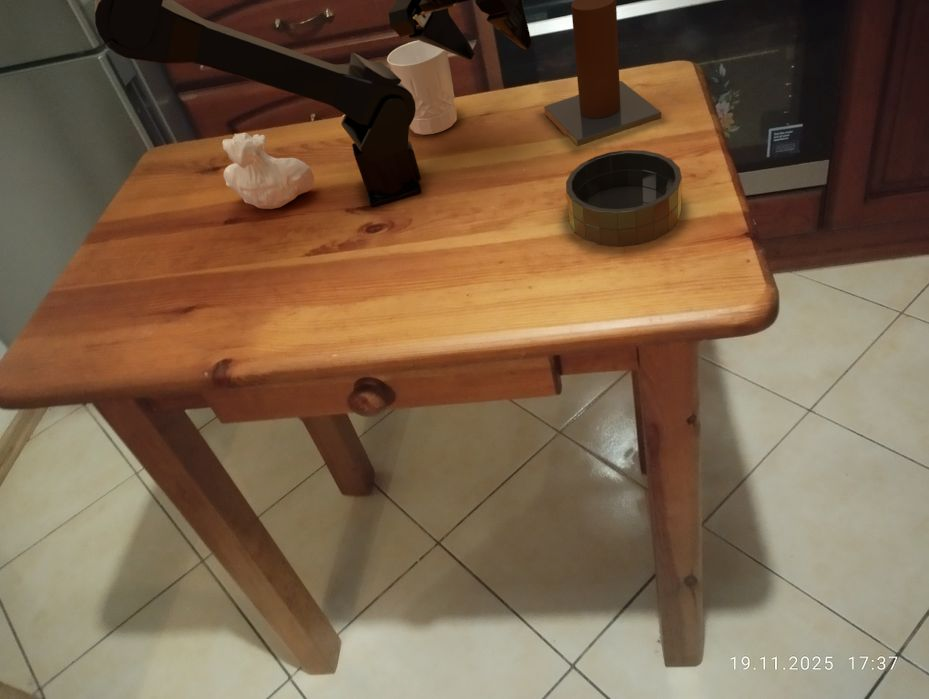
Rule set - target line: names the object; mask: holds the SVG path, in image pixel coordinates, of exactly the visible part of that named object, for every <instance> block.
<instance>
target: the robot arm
mask: <svg viewBox="0 0 929 699" xmlns="http://www.w3.org/2000/svg"><path fill="white" fill-rule="evenodd" d="M468 1H469V0H395V1H394V3H393V4H392V6H391V8H390V9H389V12H388V21H389V26H390V28H392V30H393V31H394V32H395V33H396V34H397V35H398V36H399V37H400V38H402V37H403V38H404V37H407V36H408V38H409V39H410V40H413V41H418V40H419V41H422V42H424V43H427V44H430V45H433V46H436V47H438V48H441V49H443V50H446V51H447V53H451V54H453V55H456V56H457V57H460V58H463V59H464V60H468V61H471V60H472V59H473V58H474V55H475V51H474V49H473V47H472V46H471V43H470V42H469V40H468V39H467V37H466V36H465V35H464V33H463V32H462V31H461V29H460V28H459V26H458V24H456V22H455V21H454V19H453V18H452V16H451V15H450V11H449V9H450V8H453V7H455V6H457V4H460V3H465V2H468ZM474 3H475V5H476V6H477V7H478V9H479V10H480V11H481V12H482V13H484V14H487V17H486V21H487V22H488V23H489V24H490V25H491V26H493V27H494V28H495V29H497V30H498V31H499V32H500V33H501V34H503V35H504V36H506V37H507V38H508V39H510V41H512V42H513V43H514V44H515V45H517V46H519V47H520V48H522V49H523V50H525V51H527V50H529V49H530V47H531V45H532V37H531V33H530V29H529V25H528V21H527V17H526V13H525V8H524V7H525V6H524V0H474ZM94 24H95V28H96V30H97V32H98V34H99V37H100V38H101V39H102V41H103V42H104V44H105V45H106V46H107V47H108V49H109V50H111V51H112V52H113V53H115V54H117V55H118V56H121V57H123V58H125V59H130V60H137V61H144V62H152V63H156V64H157V63H158V64H166V65H169V64H170V65H171V64H177V65H179V64H195V65H200V66H201V65H202V66H205V67H207V68H210V69H214V70H217V71H220V72H222V73H223V72H224V73H227V74H230V75H233V76H236V77H240V78H241V79H245V80H249V81H251V82H255V83H258V84H262V85H265V86H268V87H271V88H275V89H278V90H279V91H280V90H281V91H283V92H287V93H289V94H294V95H296V96H299V97H303V98H306V99H310V100H313V101H315V102H319V103H322V104H325V105H328V106H330V107H332V108H334V109H336V110H337V111H339V112H341V113H342V114H343V115H344V116H343V119H342V121H341V122H340V123H341V124H340V125H341V127H342V129H344V131H345V132H346V133H347V135H348V136H349V138H351V140H352V141H353V143H352V144H351V147H352V151H353V156H354V159H355V163H356V165H357V167H358V171H359V174H360V177H361V179H362V182H363V185H364V188H365V191H366V196H367V202H368V204H369V206H370V207H376V206H379V205H382V204H385V203H389V202H391V201H395V200H399V199H401V198H402V199H403V198H405V197H409V196H412V195H416V194H418V193H420V192H421V191H422V189H421V186H420V183H419V181H421V179H422V176H421V173H420V170H419V165H418V162H417V158H416V154H415V152H414V148H413V145H412V142H411V141H410V140H409V134H410V124H411V123H412V121H413V119H414V116H415V111H416V107H415V101H414V98H413V96H412V94H411V93H410V92H409V91H408V90H407V89H406V88H405V87H404V86H403V85H402V84H401V83H400V82H401V79H400V78H399V77H398V76H397V75H395V74H394V73H393V72H392V71H391V70H390V67H389V66H387V65H386V64H385V63H384V62H383V61H376V62H375V61H370V60H367V59H365V58H364V57H362V56H361V55H359V54H357V53H355V52H351V53H350V58H349V59H350V60H349V63H348V64H335V63H330V62H328V61H324V60H322V59H319V58H316V57H313V56H310V55H307V54H304V53H303V52H299V51H297V50H293V49H290V48H287V47H285V46H282V45H278V44H277V43H274V42H270V41H267V40H265V39H262V38H260V37H256V36H254V35H250V34H248V33H245V32H241V31H239V30H236V29H234V28H230V27H228V26H226V25H222V24H219V23H216V22H214V21H211V20H207V19H205V18H203V17H201V16H199V15H197V14H196V13H195V12H193V11H191V10H189V9H188V8H186V7H185V6H183V5H182V4H180V3H179V2H177V1H175V0H94Z"/></svg>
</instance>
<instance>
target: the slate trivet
mask: <svg viewBox="0 0 929 699" xmlns="http://www.w3.org/2000/svg"><path fill="white" fill-rule="evenodd" d="M619 83H620V109H619V111H618V112H616V113H615V114H613V115H611V116H608V117H605V118H597V119H594V118H587V117H585V116H583V115H582V114H581V113H580V103H579V94H577V95H574V96H571V97H568V98H564V99H562V100H558V101H556V102H555V101H554V102H553V103H550V104H546V105H545V106H543V109H544V115H545V116H546V117H547V118H548V119H549V120H550V121H551V123H553V124H554V125H555V127H556V128H557V129H558V130H559V131H560V132H561V133H562V134H563V135H566V136H567V138H569V139H570V140H571V141H572V142H573V143H574V144H575V145H576V146H577V147H579V146H582V145H585V144H588V143H591V142H594V141H597V140H600V139H603V138H606V137H609V136H612V135H615V134H617V133H621V132H623V131H626V130H630V129H633V128H636V127H639V126H642V125H644V124H647V123H650V122H653V121H656V120H660V119H662V111H661V110H660V109H658V108H656V107H655V106H654V105H653V104H651V103H650V102H649V101H648V100H646V99H645V98H644V97H643V96H641V95H640V94H638V93H637V92H636V91H635V90H633V89H632V88H631V87H630V86H628V85H627V84H626V83H625V82H624V81H623V80H619Z"/></svg>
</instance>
